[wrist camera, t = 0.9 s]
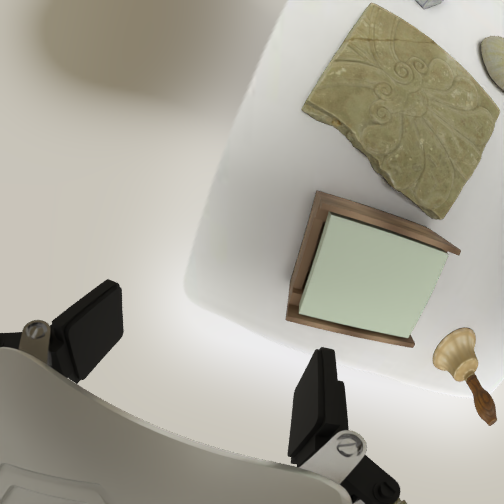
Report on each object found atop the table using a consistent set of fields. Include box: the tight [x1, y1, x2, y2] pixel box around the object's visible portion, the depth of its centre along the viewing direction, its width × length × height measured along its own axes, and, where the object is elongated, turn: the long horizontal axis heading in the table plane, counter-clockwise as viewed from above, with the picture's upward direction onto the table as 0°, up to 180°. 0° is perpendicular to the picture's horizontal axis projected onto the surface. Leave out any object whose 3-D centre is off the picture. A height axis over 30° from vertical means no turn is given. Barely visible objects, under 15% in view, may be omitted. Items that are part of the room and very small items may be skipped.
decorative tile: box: [302, 3, 500, 220], centre depth 21 cm, size 19×20×4 cm
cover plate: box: [299, 211, 449, 338], centre depth 23 cm, size 12×9×2 cm
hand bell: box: [433, 328, 497, 426], centre depth 24 cm, size 8×8×16 cm
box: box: [286, 191, 461, 348], centre depth 25 cm, size 14×11×8 cm
